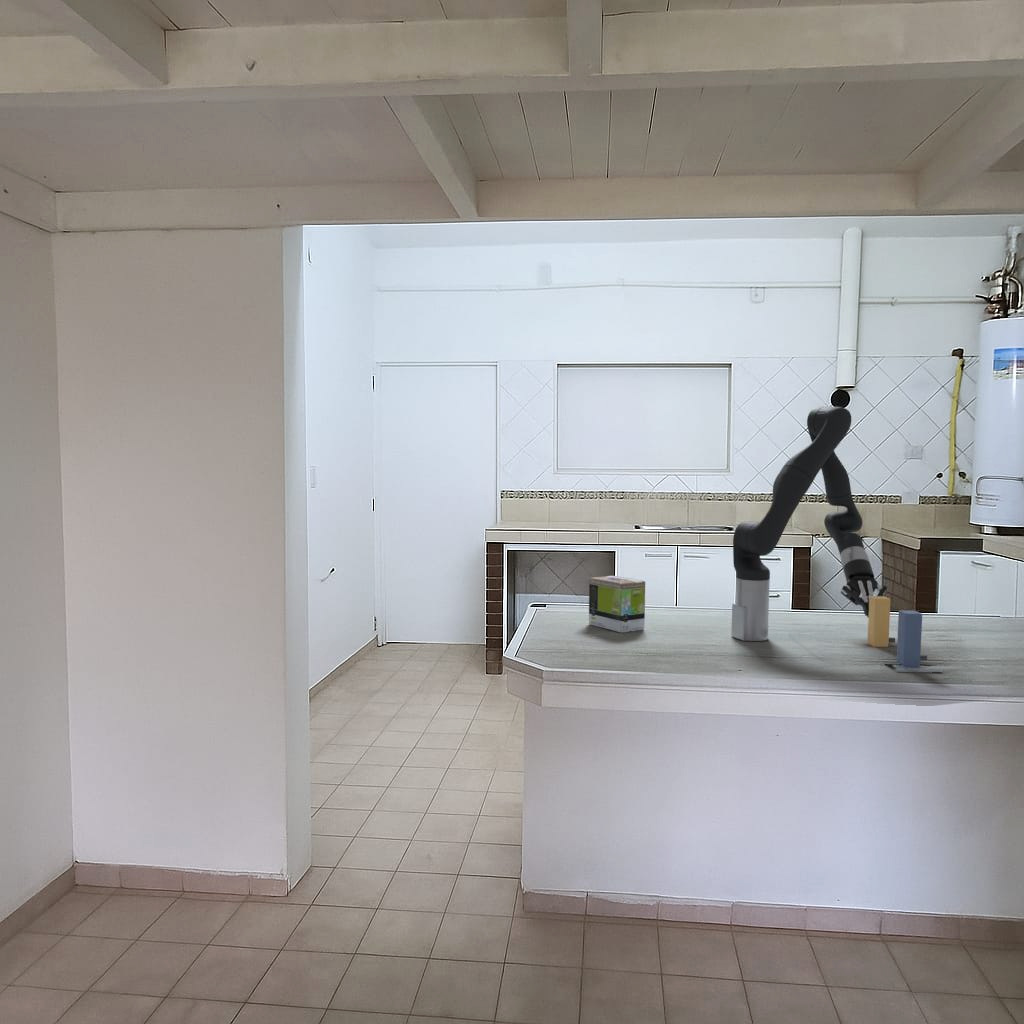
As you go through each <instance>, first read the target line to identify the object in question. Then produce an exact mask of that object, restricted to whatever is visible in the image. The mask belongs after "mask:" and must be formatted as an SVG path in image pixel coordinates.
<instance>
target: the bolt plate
mask: <svg viewBox="0 0 1024 1024" xmlns="http://www.w3.org/2000/svg"><path fill="white" fill-rule="evenodd" d="M884 665H885V666H887V667H888V668H889V669H891V670H893V671H894V672H895V673H932V672H942V673H943V668H942V667H940V666H939V665H937V664H920V666H903V665H901V664H900V663H884Z"/></svg>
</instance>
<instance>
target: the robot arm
mask: <svg viewBox="0 0 1024 1024" xmlns="http://www.w3.org/2000/svg"><path fill="white" fill-rule="evenodd" d="M850 412H851V411H849V409H847V408H845V407H842V406H817V407H814V408H812V409H811V410H810V411H809V413H808V415H807V419H806V426H807V430H808V434H809V437H810V439H811V443H809V444H808V446H806V447H805V448H803V449H802V450H800V451H798V452H797V453H795V454H794V455H793V456H791V458H789V459H788V460H787V461H786V463H784V465H783V466H782V468H781V469H780V471H779V473H778V474H777V475H776V477H775V480H774V482H773V486H772V500H771V505H770V507H769V509H768V511H767V512H766V514H765V516H764V517H763V518H762V520H761V521H760V522H758V521H750V520H747V521H742V522H740V523H739V524H738V525H737V526H736V528H735V530H734V533H733V536H732V537H733V539H732V548H733V549H732V550H733V551H732V553H733V554H732V556H733V560H732V561H733V563H732V564H733V568H734V570H735V597H734V598H735V599H734V601H735V602H734V603H732V604H731V605H732V607H731V637H733V638H734V639H737V640H740V641H743V642H745V641H746V642H764V641H767V640H768V638H769V614H770V613H769V612H770V611H769V610H770V609H769V608H770V586H771V585H770V584H771V581H770V579H771V571H770V569H769V567H767V566H766V565H765V564H764V563H763V561H762V559H761V556H762V557H763V556H767V555H769V554H771V553H772V552H773V551H774V550H775V548H776V546H777V545H778V544H779V541H780V539H781V538H782V536H783V533H784V531H785V529H786V527H787V525H788V522H790V519H791V517H792V516H793V514H794V513H795V510H796V509H797V507H798V506H799V504H800V503H801V500H802V499H803V498H804V497H805V495H806V493H807V492H808V490H809V489H810V487H811V486H812V484H813V482H814V481H815V478H816V477H817V475H818V474H819V472H820V471H821V474H822V476H823V482H824V484H823V485H824V489H825V495H826V500H827V503H828V504H829V505H830V506H833V507H845V508H846V509H844V510H839V511H838V510H837V511H833V512H829V513H827V514H826V515H825V518H824V522H823V523H824V527H825V530H826V532H828V534H829V536H830V537H831V538H832V540H833V541H834V543H835V544H836V546H837V550H838V554H839V555H840V556H839V557H840V564H841V567H842V570H843V574H844V577H845V581H846V585H843V586H842V588H841V589H840V594H841V595H842V596H844V597H845V598H846V599H848V600H849V602H851V603H853V605H855V606H861V607H862V610H863V614H864V615H865V616H866V617H867V618H868V619H869V596H874V593H875V591H876V593H877V595H876V596H884V595H885V593H886V592H887V589H888V587H887V586H885V585H883V586H882V585H879V583H878V581H877V580H876V579H875V574H874V572H873V568H872V565H871V561H870V558H869V556H868V554H867V552H866V549H865V546H864V543H863V539H862V537H861V536H860V534H858V533H856V532H859V531H860V530H861V528H862V527H863V519H862V518H863V517H862V516H861V514H860V512H859V510H858V508H857V506H856V504H855V502H854V498H853V493H852V488H851V482H850V481H851V480H850V477H849V474H848V472H847V469H846V468H845V466H844V464H843V463H842V462H841V460H840V459H839V457H838V456H837V454H836V452H835V449H836V448H837V447H838V446H839V445H840V444H841V442H842V441H843V440H844V439H845V437H846V436H847V434H848V433H849V430H850V428H851V425H852V415H851V413H850Z"/></svg>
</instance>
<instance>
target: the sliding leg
mask: <svg viewBox="0 0 1024 1024" xmlns="http://www.w3.org/2000/svg"><path fill="white" fill-rule="evenodd" d="M890 616H891V598H889V597H887V596H884V595H883V596H877V595H876V596H875V595H873V596H869V618H868V624H867V625H868V626H867V644H868V645H870V646H872V647H873V648H874V647H875V648H888V647H889V644H890V643H891V644H893V643H894V644H895V643H896V637H890V619H891V618H890Z"/></svg>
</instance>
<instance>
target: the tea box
mask: <svg viewBox="0 0 1024 1024" xmlns="http://www.w3.org/2000/svg"><path fill="white" fill-rule="evenodd" d="M588 579H589V580H588V581H589V586H588V587H589V588H588V591H589V592H588V624H589V625H591V626H594V627H598V628H603V629H606V630H610V631H613V632H618V633H629V632H630V631H631V632H637V630H638V631H643V630H644V629H645V619H646V617H645V616H646V615H645V614H646V613H645V612H646V581H645V580H641V579H639V580H638V579H634V578H628V577H622V576H616V575H607V576H593V577H589V578H588Z"/></svg>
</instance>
